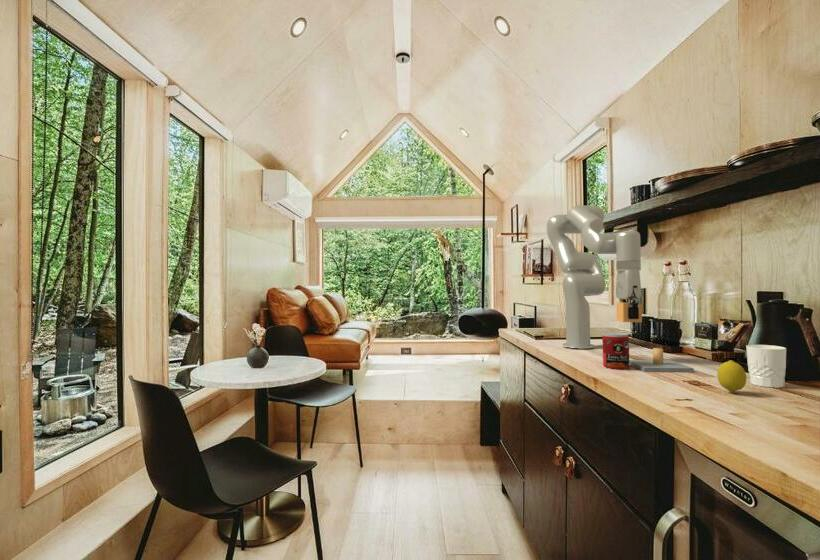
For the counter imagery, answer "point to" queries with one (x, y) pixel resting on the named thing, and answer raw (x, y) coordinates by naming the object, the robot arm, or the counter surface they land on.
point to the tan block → (623, 312)
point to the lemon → (731, 376)
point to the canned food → (615, 350)
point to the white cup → (766, 365)
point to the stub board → (659, 364)
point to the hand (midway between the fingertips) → (629, 317)
